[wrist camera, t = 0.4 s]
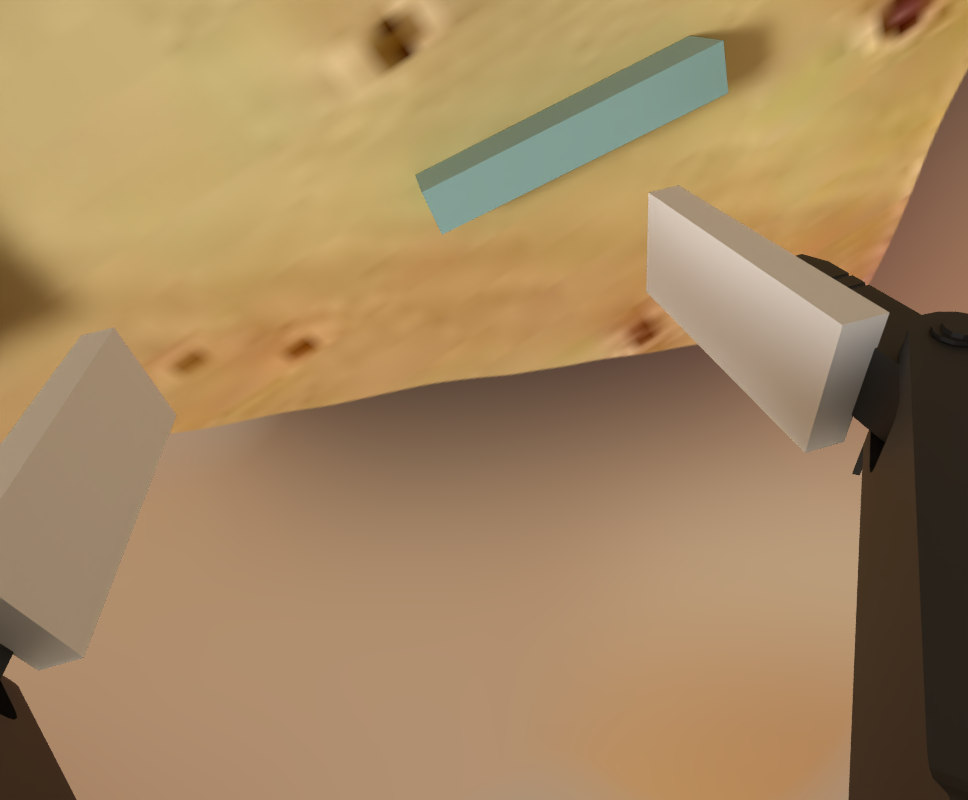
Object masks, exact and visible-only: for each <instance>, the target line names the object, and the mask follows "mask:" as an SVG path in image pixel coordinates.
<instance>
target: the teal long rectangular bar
mask: <svg viewBox="0 0 968 800" xmlns="http://www.w3.org/2000/svg"><path fill="white" fill-rule="evenodd" d="M727 93H728V84H727V73H726V63H725V52H724V41H723V40H717V39H710V38H703V37H695V36H688V37H686V38H684V39H682V40H680V41H679V42H677V43H675V44H673V45H671V46H669V47H667V48H665V49H663V50H661V51H659V52H657V53H655V54H653V55H651V56H649V57H647V58H645V59H643V60H641V61H639V62H637V63H635V64H633V65H631V66H629V67H627V68H625V69H623V70H621V71H619V72H617V73H615V74H613V75H612V76H610V77H608V78H606V79H604V80H602V81H600V82H598V83H596V84H594V85H592V86H590V87H588V88H586V89H584V90H582V91H580V92H578V93H576V94H574V95H572V96H570V97H568V98H566V99H564V100H562V101H560V102H558V103H556V104H554V105H552V106H550V107H548V108H547V109H545V110H543V111H541V112H539V113H537V114H535V115H533V116H531V117H529V118H527V119H525V120H523V121H521V122H519V123H517V124H515V125H513V126H511V127H509V128H507V129H505V130H503V131H501V132H499V133H497V134H495V135H493V136H491V137H489V138H487V139H485V140H483V141H482V142H480V143H478V144H476V145H474V146H472V147H470V148H468V149H466V150H464V151H462V152H460V153H458V154H456V155H454V156H452V157H450V158H448V159H446V160H444V161H442V162H440V163H438V164H436V165H434V166H432V167H430V168H428V169H426V170H424V171H422V172H420V173H418V174H417V175H415V176H416V178H417V181H418V184H419V186H420V189H421V192H422V194H423V196H424V198H425V200H426V202H427V204H428V206H429V208H430V210H431V212H432V214H433V217H434V219H435V221H436V223H437V225H438V227H439V229H440V231H441V233H442V234H444V233H446V232H448V231H450V230H452V229H454V228H456V227H458V226H460V225H462V224H464V223H466V222H468V221H471V220H473V219H475V218H477V217H479V216H481V215H483V214H485V213H487V212H489V211H491V210H493V209H495V208H497V207H499V206H501V205H503V204H505V203H507V202H509V201H511V200H513V199H515V198H517V197H519V196H521V195H523V194H525V193H527V192H529V191H531V190H533V189H535V188H537V187H539V186H541V185H543V184H545V183H547V182H549V181H551V180H553V179H555V178H557V177H559V176H561V175H563V174H566V173H568V172H570V171H572V170H574V169H576V168H578V167H580V166H582V165H584V164H586V163H588V162H590V161H592V160H594V159H596V158H598V157H600V156H602V155H604V154H606V153H608V152H610V151H612V150H614V149H616V148H618V147H620V146H622V145H624V144H626V143H628V142H630V141H632V140H634V139H636V138H638V137H640V136H642V135H644V134H646V133H648V132H650V131H652V130H654V129H656V128H658V127H660V126H663V125H665V124H667V123H669V122H671V121H673V120H675V119H677V118H679V117H681V116H683V115H685V114H687V113H689V112H691V111H693V110H695V109H697V108H699V107H701V106H703V105H705V104H707V103H709V102H711V101H713V100H715V99H717V98H719V97H721V96H723V95H725V94H727Z"/></svg>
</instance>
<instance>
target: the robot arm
mask: <svg viewBox="0 0 968 800" xmlns="http://www.w3.org/2000/svg"><path fill="white" fill-rule="evenodd" d="M848 274H849V273H848V272H846V271H844V270H842V269H841V268H839V267H837V266H835V265H834V264H832V263H830V262H828V261H825V260H821V259H817V258H814V257H810V256H807V255H803V254H801V255H797V256H795V255H793V254H791V253H790V252H788V251H787V250H785V249H783V248H782V247H780V246H778V245H777V244H775V243H773V242H772V241H770V240H768V239H767V238H765V237H763V236H762V235H760V234H758V233H757V232H755V231H753V230H752V229H750V228H748V227H747V226H745V225H743V224H742V223H740V222H738V221H737V220H735V219H733V218H732V217H730V216H728V215H727V214H725V213H723V212H722V211H720V210H718V209H717V208H715V207H713V206H712V205H710V204H708V203H707V202H705V201H703V200H702V199H700V198H698V197H697V196H695V195H693V194H692V193H690V192H689V191H687V190H685V189H684V188H682V187H680V186H679V185H677V186H673V187H669V188H665V189H661V190H657V191H653V192H649V200H648V243H647V286H646V292H647V293H648V294H649V295H650V296H651V297H652V298H653V299H654V300H655V301H656V302H657V303H658V304H659V305H660V306H661V307H662V308H663V309H664V310H665V311H666V312H667V313H668V314H669V315H670V316H671V317H672V318H673V319H674V320H675V321H676V322H677V323H678V324H679V325H680V326H681V327H682V328H683V330H684V331H685V332H686V333H687V334H688V335H689V336H690V337H691V338H692V339H693V340H694V341H695V342H696V343H697V344H698V345H699V346H700V347H701V348H702V349H703V350H704V351H705V352H706V353H707V354H708V355H709V356H710V357H711V358H712V359H713V360H714V361H715V362H716V363H717V364H718V365H719V366H720V367H721V368H722V369H723V370H724V371H725V372H726V373H727V374H728V375H729V376H730V377H731V378H732V379H733V380H734V381H735V382H736V383H737V384H738V385H739V386H740V387H741V388H742V389H743V390H744V391H745V392H746V393H747V394H748V395H749V396H750V397H751V398H752V399H753V400H754V402H755V403H756V404H757V405H758V406H759V407H760V408H761V409H762V410H763V411H764V412H766V414H767V415H768V416H769V417H770V418H771V419H772V420H773V421H774V422H775V423H776V424H777V425H778V426H779V427H780V428H781V429H782V430H783V431H784V432H785V433H786V434H787V435H788V436H789V437H790V438H791V439H792V440H793V441H794V442H795V443H796V444H797V445H798V446H799V447H800V448H801V449H802V450H803V451H804V452H805V453H806V452H809V451H813V450H817V449H820V448H824V447H827V446H831V445H834V444H838V443H841V442H844V440H845V438H846V435H847V432H848V429H849V426H850V423H851V420H852V418H853V416H854V417H855V418H856V419H857V420H858V421H859V422H861V423H862V424H863V425H864V426H865V427H867V428H868V429H869V432H868V434H867V437H866V439H865V442H864V444H863V447H862V450H861V453H860V455H859V458H858V460H857V463H856V465H855V468H854V470H853V474H856V475H860V473H861V471H862V490H861V491H862V492H861V493H862V494H861V515H860V538H859V563H858V588H857V612H856V635H855V659H854V683H853V709H852V731H851V732H852V733H851V755H850V779H849V780H850V782H849V800H968V314H966V313H961V312H934V313H929V314H924V315H921V314H919V313H917V312H915V311H914V310H912V309H910V308H909V307H907V306H905V305H903V304H902V303H900V302H898V301H896V300H894V299H893V298H891V297H889V296H888V295H886V294H884V293H883V292H881V291H879V290H877V289H876V288H874V287H872V286H870V285H865V282H863V281H862V280H860V279H858V278H856V277H855V276H853V275H852V276H849V275H848ZM175 418H176V414H175V412H174V411H173V410H172V408H171V407H170V405H169V404H168V403H167V401H166V400H165V398H164V397H163V396H162V394H161V393H160V391H159V390H158V388H157V387H156V386H155V384H154V383H153V381H152V380H151V379H150V377H149V376H148V374H147V373H146V372H145V370H144V369H143V367H142V366H141V365H140V363H139V362H138V360H137V359H136V358H135V356H134V355H133V353H132V352H131V351H130V349H129V348H128V346H127V345H126V344H125V342H124V341H123V339H122V338H121V336H120V335H119V334H118V332H117V331H116V329H115V328H114V327H113V328H109V329H105V330H101V331H97V332H94V333H90V334H86V335H82V336H80V338H79V339H78V340H77V342H76V343H75V344H74V346H73V347H72V348H71V350H70V351H69V352H68V354H67V355H66V357H65V358H64V359H63V361H62V362H61V363H60V365H59V366H58V367H57V369H56V370H55V371H54V373H53V374H52V376H51V377H50V378H49V380H48V381H47V382H46V384H45V385H44V386H43V388H42V389H41V390H40V392H39V393H38V394H37V396H36V397H35V399H34V400H33V401H32V403H31V404H30V405H29V407H28V408H27V409H26V411H25V412H24V413H23V415H22V416H21V418H20V419H19V420H18V422H17V423H16V424H15V426H14V427H13V428H12V430H11V431H10V432H9V434H8V435H7V436H6V438H5V439H4V441H3V442H2V443H1V445H0V800H76V798H75V796H74V794H73V792H72V790H71V788H70V786H69V784H68V782H67V780H66V778H65V777H64V775H63V773H62V771H61V769H60V767H59V765H58V763H57V761H56V759H55V757H54V755H53V753H52V751H51V749H50V747H49V745H48V743H47V742H46V739H45V738H44V736H43V734H42V732H41V730H40V728H39V726H38V724H37V722H36V720H35V718H34V716H33V714H32V713H31V710H30V709H29V706H28V704H27V703H26V701H25V699H24V697H23V695H22V693H21V691H20V689H19V687H18V686H17V685H16V684H15V683H14V682H12V681H11V680H10V679H8V678H6V677H5V676H3V673H4V671H5V669H6V667H7V665H8V663H9V660H10V659H11V657H12V655H13V654H14V655H15V656H17V657H18V658H20V659H21V660H23V661H24V662H26V663H28V664H29V665H31V666H32V667H34V668H35V669H37V670H42V669H46V668H49V667H52V666H56V665H59V664H63V663H66V662H70V661H74V660H77V659H81V658H84V656H85V653H86V651H87V648H88V645H89V643H90V640H91V638H92V635H93V632H94V630H95V627H96V624H97V622H98V619H99V617H100V614H101V611H102V609H103V606H104V603H105V601H106V598H107V596H108V593H109V590H110V588H111V585H112V582H113V580H114V577H115V575H116V572H117V569H118V567H119V564H120V562H121V559H122V556H123V554H124V551H125V548H126V546H127V543H128V540H129V538H130V535H131V533H132V530H133V527H134V525H135V522H136V519H137V517H138V514H139V512H140V509H141V507H142V504H143V501H144V499H145V496H146V494H147V491H148V488H149V486H150V483H151V480H152V478H153V475H154V473H155V470H156V467H157V465H158V462H159V459H160V457H161V454H162V451H163V449H164V446H165V444H166V441H167V439H168V436H169V433H170V431H171V428H172V425H173V423H174V420H175Z"/></svg>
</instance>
